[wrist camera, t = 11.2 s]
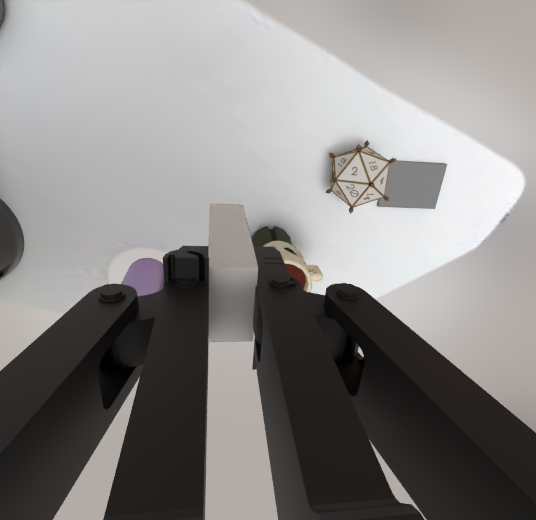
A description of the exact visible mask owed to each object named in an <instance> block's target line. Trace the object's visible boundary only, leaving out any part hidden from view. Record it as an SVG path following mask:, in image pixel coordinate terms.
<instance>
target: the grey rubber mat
mask: <svg viewBox="0 0 536 520" xmlns="http://www.w3.org/2000/svg"><path fill="white" fill-rule="evenodd" d="M388 161H389V160H388ZM446 167H447V164H443V163H425V162H407V161H395V162H393V163H390V166H389V172H388V179H387V185H386V192H385V196H387V197H389V200H390V201H386V200H384V198H380V199H378V202H377V206H378V207H401V208H428V209H435V207H436V203H437V199H438V196H439V192H440V188H441V185H442V181H443V177H444V174H445V170H446Z"/></svg>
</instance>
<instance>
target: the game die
mask: <svg viewBox="0 0 536 520" xmlns="http://www.w3.org/2000/svg"><path fill="white" fill-rule="evenodd" d="M368 144H369V143H368V140H367V141H366V142H365V144H364V145H365V146H364V147H361V146H359V145H358V146H357V147H356V148H357V149H355V150H352V151H349V152H346V153H343V154H340V155H337V156H334V154H333V153H329V155H330V157H331V158H333V169H332V179H331V180H330V182H331V189H328V190H327V191H326V192H325V193H331V191H332V192H334V193H335V194H336V195H337V196H338V197H340V198H341V199H342V200H343V201H344V202H345V203H347V204H348V205H349V206H350V208H349V212H350V214H351V213H352V212H353V207H356V206H359V205H362V204H365V203H368V202H371V201H374V200H377V199H380V198H384V200H386V201H390V200H389V197H387V196H385V192H386V185H387V179H388V172H389V166H390V163H393V162H395V160H396V159H394V158H392V159H391V160H390V161H388V160H387V159H385V158H384V157H382V156H381V155H379V154H377V153H376V152H374V151H373V150H371V149H370V148H368V147H367V146H368Z"/></svg>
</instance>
